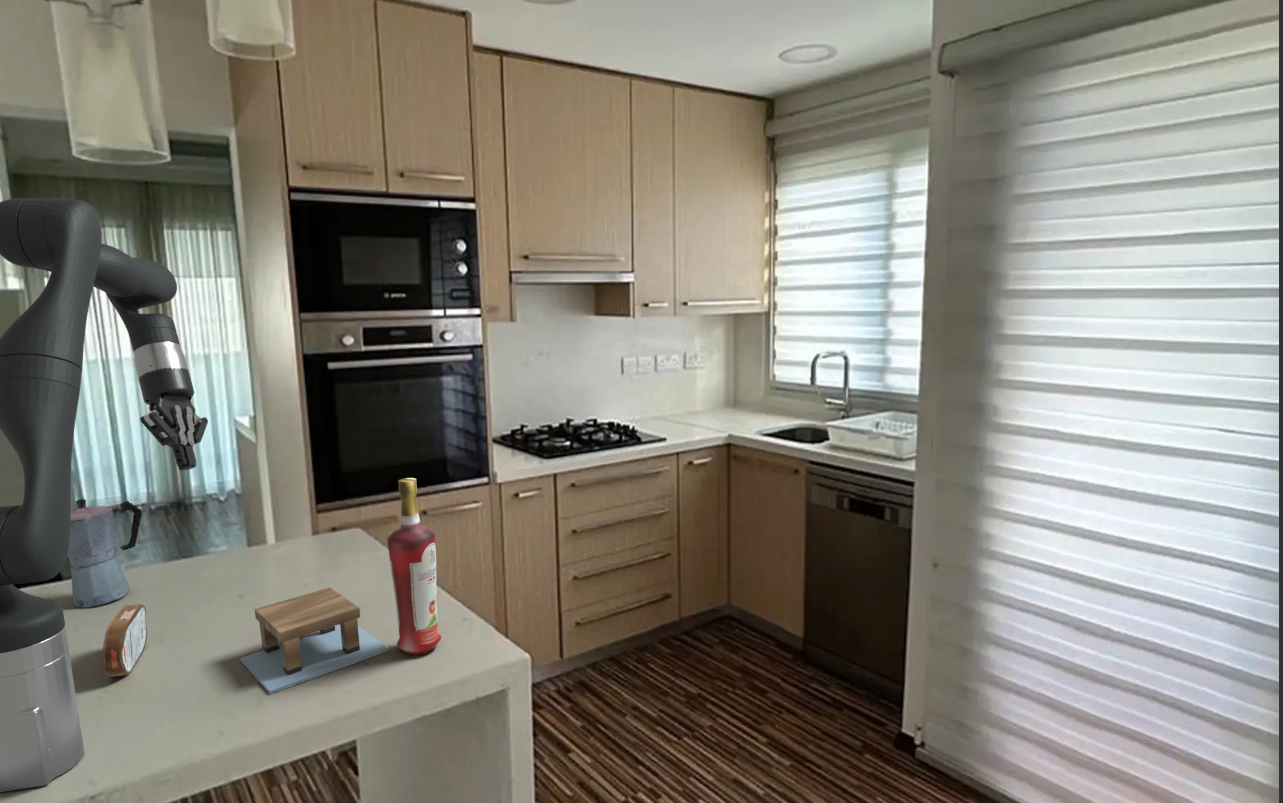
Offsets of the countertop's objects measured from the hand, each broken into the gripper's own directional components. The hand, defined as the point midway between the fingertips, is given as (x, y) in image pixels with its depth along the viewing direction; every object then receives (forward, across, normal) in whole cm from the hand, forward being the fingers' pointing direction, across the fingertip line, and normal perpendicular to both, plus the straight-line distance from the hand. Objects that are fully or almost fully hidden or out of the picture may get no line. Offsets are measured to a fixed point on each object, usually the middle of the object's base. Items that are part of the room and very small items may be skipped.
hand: (188, 468), depth 127 cm
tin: (+28, -5, +14) cm, 32 cm away
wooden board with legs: (+30, +3, -9) cm, 31 cm away
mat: (+36, 0, -13) cm, 39 cm away
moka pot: (+13, +16, +37) cm, 42 cm away
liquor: (+41, +4, -28) cm, 50 cm away
